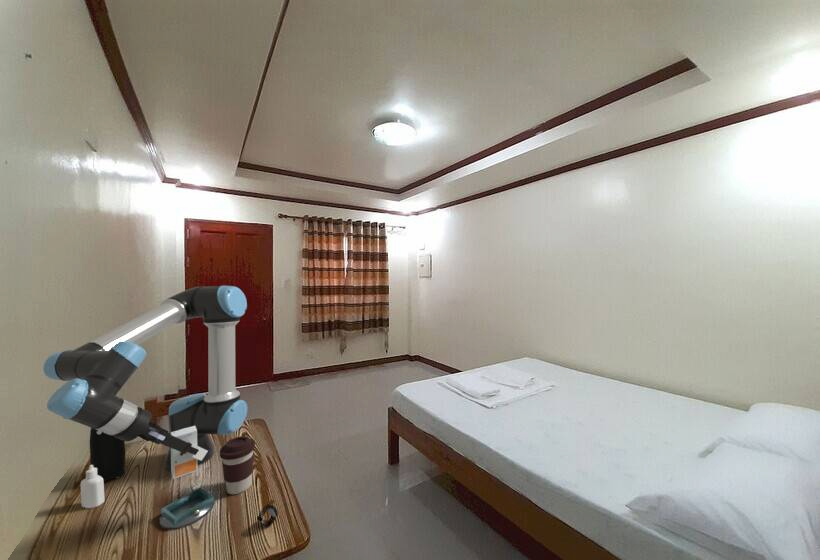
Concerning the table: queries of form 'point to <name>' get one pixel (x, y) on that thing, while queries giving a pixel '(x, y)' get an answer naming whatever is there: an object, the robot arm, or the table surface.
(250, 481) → the coffee cup
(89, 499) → the eye dropper bottle
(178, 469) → the skincare box
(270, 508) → the smartwatch
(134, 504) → the table surface
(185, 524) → the keyed nest
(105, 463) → the portable speaker
